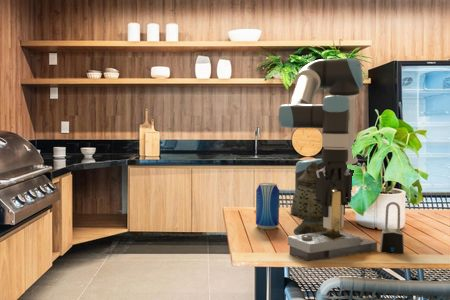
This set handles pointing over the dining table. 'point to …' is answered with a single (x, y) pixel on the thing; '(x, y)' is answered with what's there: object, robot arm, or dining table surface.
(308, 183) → the lantern
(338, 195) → the brass pin
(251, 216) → the dining table surface
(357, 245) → the grey device box
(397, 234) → the padlock
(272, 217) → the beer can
